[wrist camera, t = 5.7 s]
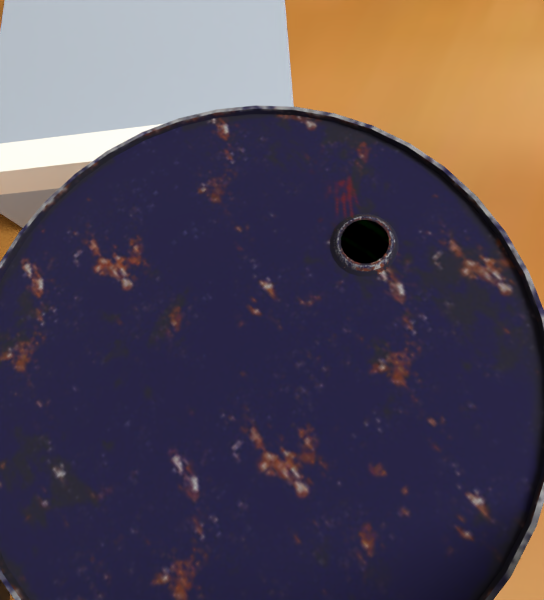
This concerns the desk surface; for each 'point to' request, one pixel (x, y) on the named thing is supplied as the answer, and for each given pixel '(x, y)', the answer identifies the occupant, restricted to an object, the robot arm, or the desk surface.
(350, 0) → the desk surface
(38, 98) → the tray
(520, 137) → the desk surface
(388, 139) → the rusty blue oil drum
